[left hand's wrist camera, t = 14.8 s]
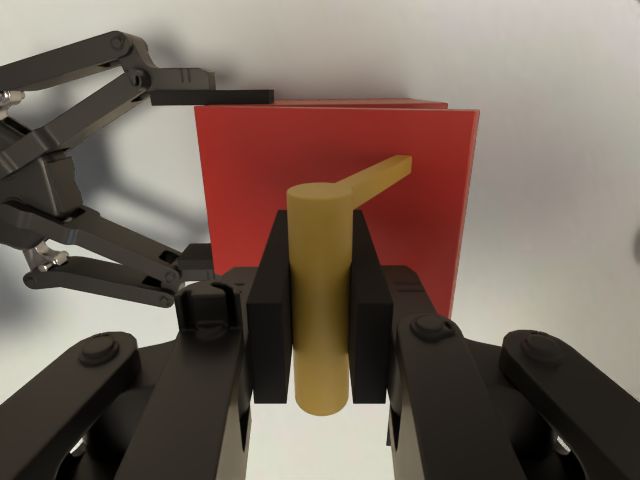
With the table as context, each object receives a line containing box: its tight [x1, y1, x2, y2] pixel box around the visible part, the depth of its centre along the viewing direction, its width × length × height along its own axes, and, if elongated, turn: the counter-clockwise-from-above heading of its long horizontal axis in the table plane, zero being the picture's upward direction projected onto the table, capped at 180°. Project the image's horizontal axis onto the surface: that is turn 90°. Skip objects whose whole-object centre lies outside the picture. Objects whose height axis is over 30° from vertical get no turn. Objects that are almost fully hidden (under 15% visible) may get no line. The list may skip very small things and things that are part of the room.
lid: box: [194, 106, 480, 416], centre depth 15 cm, size 13×9×9 cm
